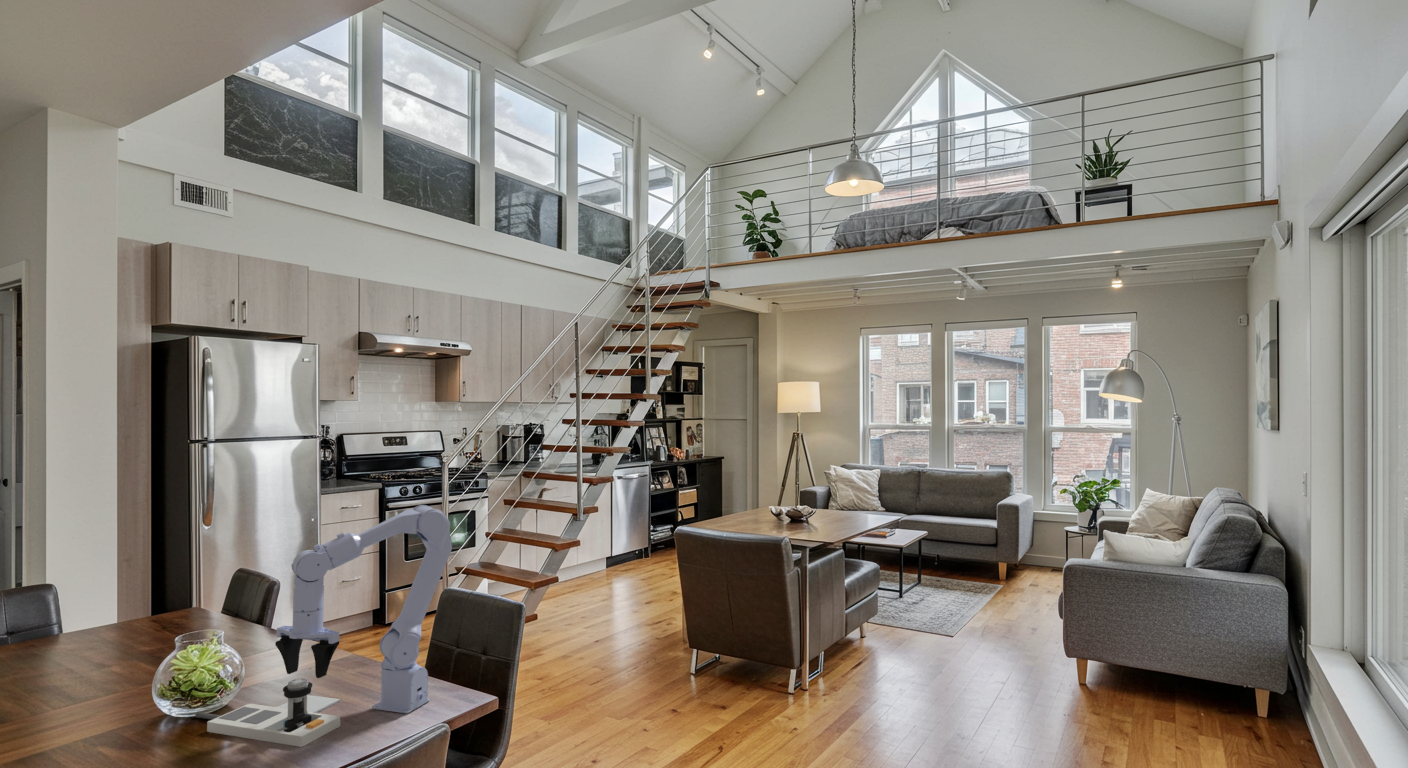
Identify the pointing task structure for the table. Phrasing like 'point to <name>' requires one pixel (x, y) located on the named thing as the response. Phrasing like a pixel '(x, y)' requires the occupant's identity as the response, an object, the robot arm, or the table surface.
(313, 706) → the mat
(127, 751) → the table surface
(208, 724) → the white compartment tray
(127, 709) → the table surface
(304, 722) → the push button
